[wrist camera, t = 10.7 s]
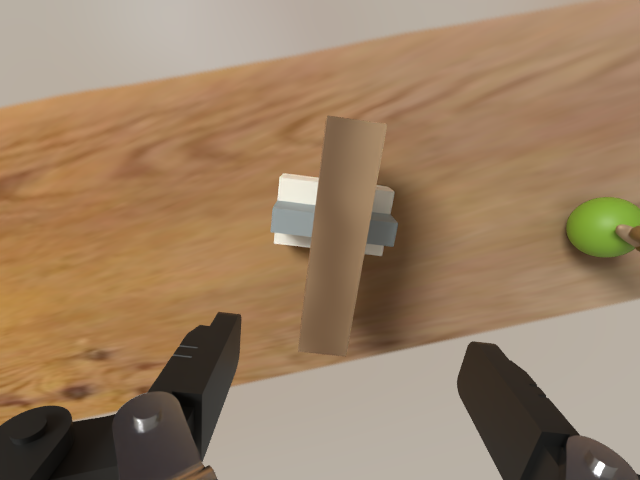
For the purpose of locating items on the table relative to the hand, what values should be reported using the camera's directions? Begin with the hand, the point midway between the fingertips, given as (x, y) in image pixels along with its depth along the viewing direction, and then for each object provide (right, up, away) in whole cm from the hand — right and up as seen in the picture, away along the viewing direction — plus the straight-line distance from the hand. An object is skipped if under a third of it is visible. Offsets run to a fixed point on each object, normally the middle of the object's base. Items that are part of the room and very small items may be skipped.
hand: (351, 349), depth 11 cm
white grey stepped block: (0, +7, +20) cm, 21 cm away
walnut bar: (0, +5, +14) cm, 15 cm away
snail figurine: (+25, +6, +20) cm, 33 cm away
